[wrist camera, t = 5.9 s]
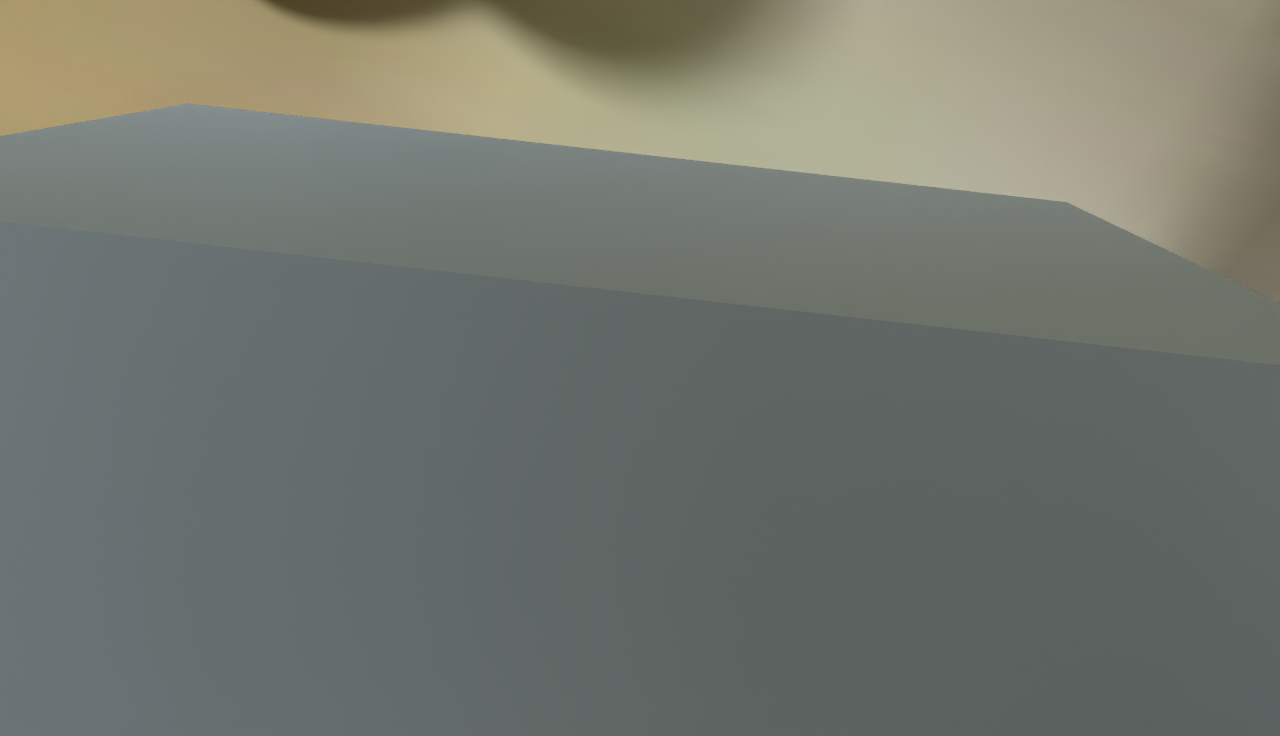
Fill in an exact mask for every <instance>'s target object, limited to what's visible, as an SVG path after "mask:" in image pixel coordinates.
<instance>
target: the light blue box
mask: <svg viewBox="0 0 1280 736" xmlns="http://www.w3.org/2000/svg"><path fill="white" fill-rule="evenodd" d="M0 736H1280V304H1279V303H1277V302H1275V301H1273V300H1271V299H1269V298H1267V297H1265V296H1262V295H1260V294H1258V293H1256V292H1254V291H1252V290H1250V289H1248V288H1246V287H1244V286H1241V285H1239V284H1237V283H1235V282H1233V281H1231V280H1229V279H1227V278H1225V277H1222V276H1220V275H1218V274H1216V273H1214V272H1212V271H1210V270H1208V269H1206V268H1204V267H1201V266H1199V265H1197V264H1195V263H1193V262H1191V261H1189V260H1187V259H1185V258H1183V257H1180V256H1178V255H1176V254H1174V253H1172V252H1170V251H1168V250H1166V249H1164V248H1161V247H1159V246H1157V245H1155V244H1153V243H1151V242H1149V241H1147V240H1145V239H1143V238H1140V237H1138V236H1136V235H1134V234H1132V233H1130V232H1128V231H1126V230H1124V229H1121V228H1119V227H1117V226H1115V225H1113V224H1111V223H1109V222H1107V221H1105V220H1103V219H1100V218H1098V217H1096V216H1094V215H1092V214H1090V213H1088V212H1086V211H1084V210H1081V209H1079V208H1077V207H1075V206H1073V205H1071V204H1069V203H1067V202H1059V201H1050V200H1041V199H1032V198H1024V197H1015V196H1006V195H997V194H988V193H979V192H970V191H961V190H952V189H943V188H935V187H926V186H917V185H908V184H899V183H890V182H881V181H872V180H863V179H854V178H845V177H837V176H828V175H819V174H810V173H801V172H792V171H783V170H774V169H765V168H756V167H747V166H739V165H730V164H721V163H712V162H703V161H694V160H685V159H676V158H667V157H658V156H649V155H641V154H632V153H623V152H614V151H605V150H596V149H587V148H578V147H569V146H560V145H551V144H543V143H534V142H525V141H516V140H507V139H498V138H489V137H480V136H471V135H462V134H453V133H445V132H436V131H427V130H418V129H409V128H400V127H391V126H382V125H373V124H364V123H355V122H347V121H338V120H329V119H320V118H311V117H302V116H293V115H284V114H275V113H266V112H258V111H249V110H240V109H231V108H222V107H213V106H204V105H195V104H184V105H178V106H172V107H167V108H161V109H155V110H149V111H144V112H138V113H132V114H126V115H120V116H115V117H109V118H103V119H97V120H92V121H86V122H80V123H74V124H69V125H63V126H57V127H51V128H46V129H40V130H34V131H28V132H22V133H17V134H11V135H5V136H0Z"/></svg>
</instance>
